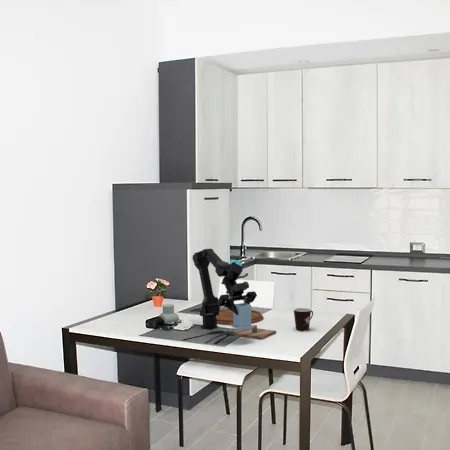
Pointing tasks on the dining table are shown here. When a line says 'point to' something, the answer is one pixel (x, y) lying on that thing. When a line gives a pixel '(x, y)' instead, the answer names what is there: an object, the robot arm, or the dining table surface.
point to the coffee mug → (302, 318)
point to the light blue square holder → (242, 317)
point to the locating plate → (254, 333)
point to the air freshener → (169, 314)
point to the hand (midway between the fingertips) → (243, 313)
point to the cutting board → (227, 317)
